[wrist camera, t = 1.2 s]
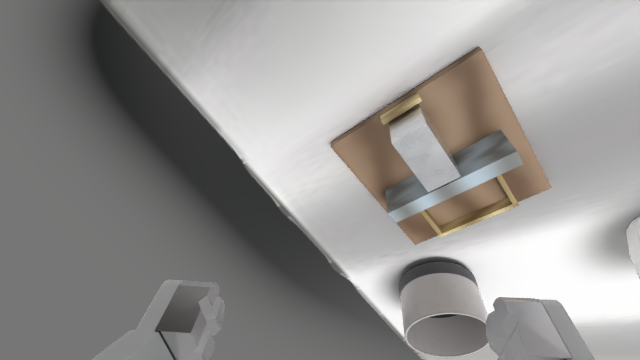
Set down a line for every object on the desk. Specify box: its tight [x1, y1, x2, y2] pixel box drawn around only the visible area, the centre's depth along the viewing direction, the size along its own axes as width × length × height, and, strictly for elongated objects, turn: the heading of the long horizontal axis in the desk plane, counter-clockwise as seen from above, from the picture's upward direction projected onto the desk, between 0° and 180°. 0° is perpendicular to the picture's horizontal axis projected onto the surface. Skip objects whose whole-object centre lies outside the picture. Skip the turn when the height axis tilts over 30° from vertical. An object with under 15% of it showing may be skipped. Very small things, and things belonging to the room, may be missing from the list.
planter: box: [399, 262, 489, 358], centre depth 54 cm, size 13×13×10 cm
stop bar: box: [388, 103, 461, 192], centre depth 38 cm, size 4×8×6 cm, turn 39°
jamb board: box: [331, 47, 552, 245], centre depth 41 cm, size 20×22×6 cm
